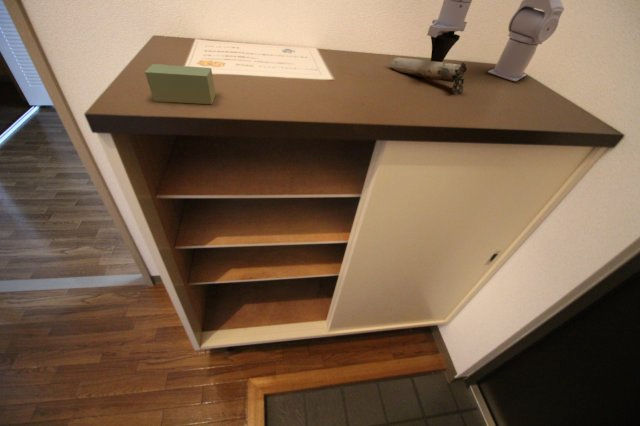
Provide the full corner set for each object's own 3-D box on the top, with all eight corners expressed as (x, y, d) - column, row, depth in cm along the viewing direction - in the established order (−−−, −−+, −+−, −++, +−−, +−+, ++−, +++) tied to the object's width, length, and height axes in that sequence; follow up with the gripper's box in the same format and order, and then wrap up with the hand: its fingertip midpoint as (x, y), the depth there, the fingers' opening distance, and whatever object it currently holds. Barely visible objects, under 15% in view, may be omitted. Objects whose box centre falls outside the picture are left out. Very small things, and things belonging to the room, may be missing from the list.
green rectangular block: (160, 92, 53) (152, 63, 50) (215, 95, 55) (211, 67, 51) (153, 101, 51) (144, 71, 47) (211, 104, 52) (206, 76, 48)
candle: (450, 96, 66) (462, 67, 61) (388, 67, 76) (394, 41, 72) (464, 92, 69) (477, 64, 64) (402, 64, 79) (410, 39, 75)
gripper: (456, -5, 68) (434, 57, 77) (425, -3, 60) (405, 65, 70) (484, 1, 65) (458, 65, 74) (455, 4, 57) (430, 75, 66)
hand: (434, 66), depth 72 cm, fingers closed
